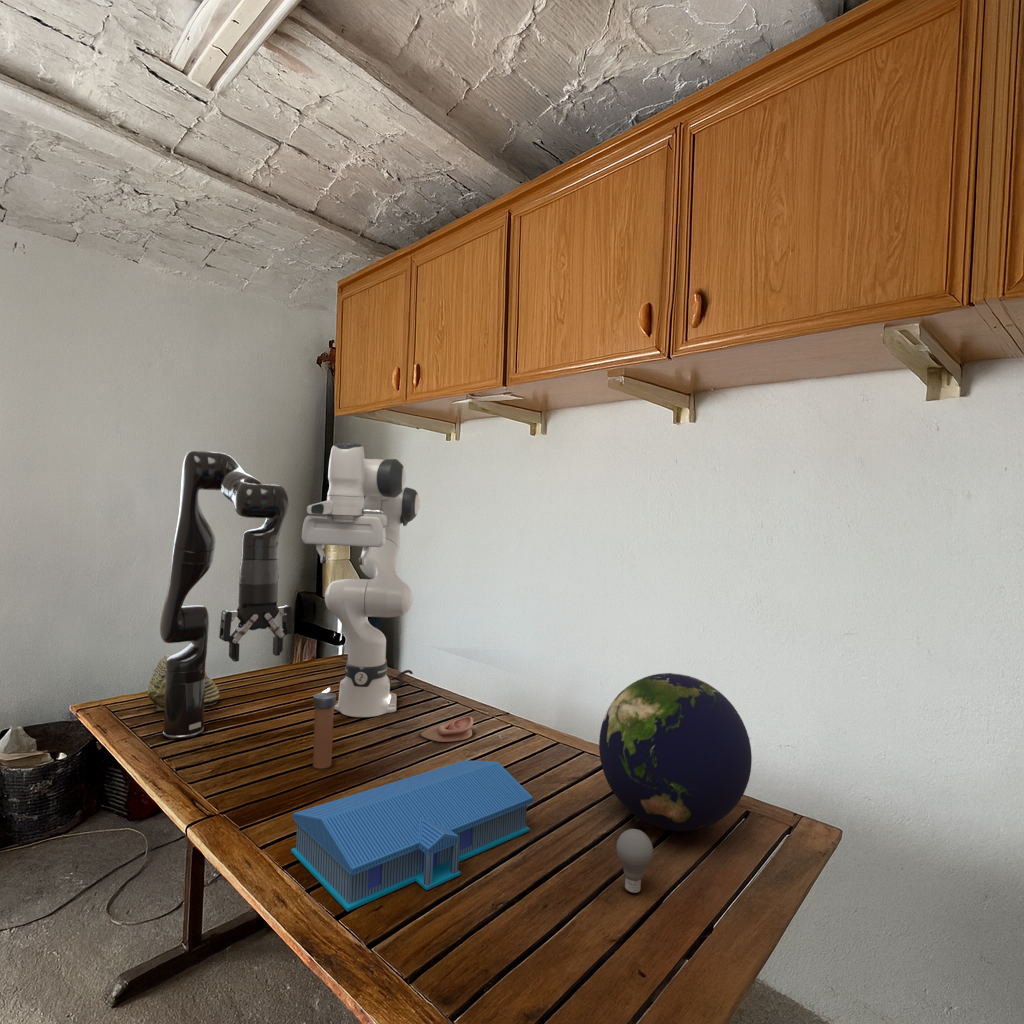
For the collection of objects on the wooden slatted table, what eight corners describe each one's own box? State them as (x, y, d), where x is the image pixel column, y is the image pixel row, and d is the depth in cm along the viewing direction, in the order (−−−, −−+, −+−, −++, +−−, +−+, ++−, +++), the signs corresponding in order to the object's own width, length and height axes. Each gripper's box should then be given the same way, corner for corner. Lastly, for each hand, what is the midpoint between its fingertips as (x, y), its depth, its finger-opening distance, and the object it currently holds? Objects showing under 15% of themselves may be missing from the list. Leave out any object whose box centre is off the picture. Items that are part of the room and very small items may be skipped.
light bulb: (610, 879, 108) (613, 822, 108) (644, 879, 109) (647, 822, 109) (619, 902, 102) (622, 840, 102) (655, 901, 103) (658, 840, 103)
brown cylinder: (329, 760, 152) (332, 693, 152) (333, 767, 148) (336, 699, 148) (311, 762, 150) (313, 695, 150) (314, 770, 147) (317, 701, 146)
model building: (357, 922, 95) (360, 856, 95) (289, 850, 113) (292, 795, 113) (542, 837, 121) (544, 785, 121) (463, 790, 139) (465, 745, 139)
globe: (578, 839, 121) (585, 683, 120) (614, 778, 149) (620, 651, 148) (744, 881, 110) (753, 709, 109) (749, 806, 137) (756, 669, 137)
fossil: (144, 707, 182) (145, 655, 182) (212, 696, 194) (213, 647, 194) (151, 716, 175) (153, 662, 175) (221, 703, 188) (223, 653, 188)
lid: (333, 700, 153) (333, 691, 153) (338, 707, 148) (338, 697, 148) (311, 702, 150) (311, 693, 150) (315, 709, 146) (315, 700, 146)
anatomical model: (417, 724, 167) (431, 710, 178) (416, 739, 167) (430, 724, 178) (465, 730, 164) (477, 715, 176) (465, 745, 165) (476, 730, 176)
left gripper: (284, 576, 139) (281, 649, 139) (216, 579, 129) (213, 658, 130) (299, 580, 134) (296, 656, 134) (230, 584, 124) (227, 667, 124)
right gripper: (389, 509, 159) (387, 564, 160) (309, 506, 160) (307, 560, 160) (384, 510, 153) (382, 567, 153) (300, 506, 154) (298, 563, 154)
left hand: (256, 657), depth 132 cm, fingers open, 8 cm apart
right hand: (343, 563), depth 157 cm, fingers open, 8 cm apart
